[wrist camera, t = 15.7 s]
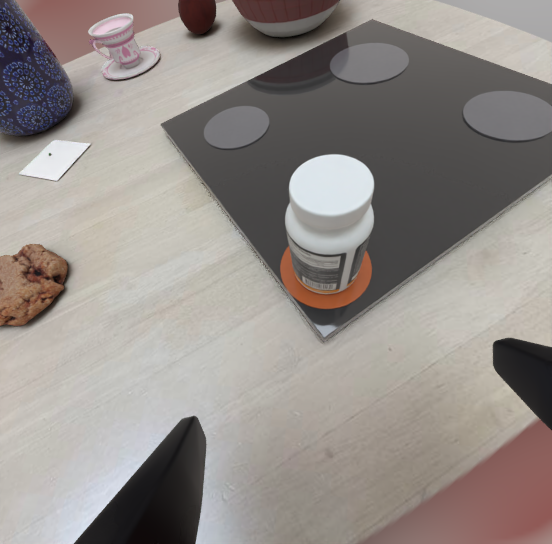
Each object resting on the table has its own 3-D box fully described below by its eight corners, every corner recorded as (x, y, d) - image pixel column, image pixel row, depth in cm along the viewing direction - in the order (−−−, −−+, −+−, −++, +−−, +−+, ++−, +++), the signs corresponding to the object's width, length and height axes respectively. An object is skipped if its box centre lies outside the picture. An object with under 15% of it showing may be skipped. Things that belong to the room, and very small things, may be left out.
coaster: (56, 180, 37) (51, 176, 36) (18, 174, 39) (13, 169, 38) (90, 144, 40) (87, 139, 39) (53, 139, 42) (49, 135, 42)
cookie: (-24, 283, 30) (-56, 270, 27) (64, 236, 32) (41, 220, 29) (-24, 357, 25) (-63, 350, 23) (79, 298, 27) (53, 286, 24)
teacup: (144, 44, 56) (126, 5, 50) (171, 59, 51) (154, 17, 45) (94, 69, 53) (69, 31, 48) (117, 88, 48) (92, 47, 43)
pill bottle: (330, 230, 25) (338, 133, 16) (372, 273, 22) (409, 185, 13) (280, 262, 24) (261, 177, 15) (319, 310, 21) (321, 241, 13)
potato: (225, 19, 56) (215, -28, 50) (214, 38, 52) (201, -11, 46) (195, 22, 58) (180, -24, 52) (181, 41, 54) (164, -6, 48)
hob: (620, 128, 28) (637, 112, 26) (323, 342, 22) (324, 338, 20) (370, 30, 45) (372, 17, 44) (165, 133, 39) (159, 122, 38)
